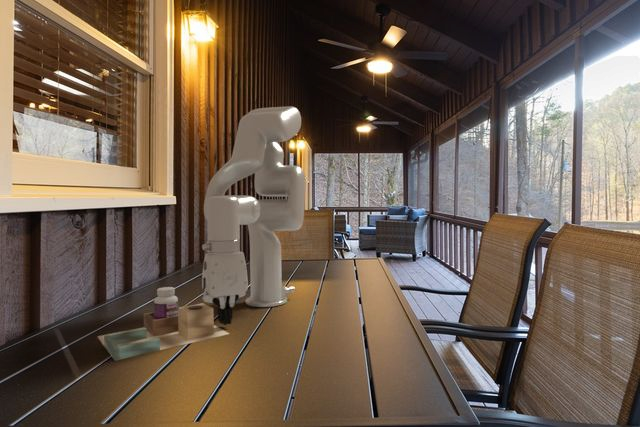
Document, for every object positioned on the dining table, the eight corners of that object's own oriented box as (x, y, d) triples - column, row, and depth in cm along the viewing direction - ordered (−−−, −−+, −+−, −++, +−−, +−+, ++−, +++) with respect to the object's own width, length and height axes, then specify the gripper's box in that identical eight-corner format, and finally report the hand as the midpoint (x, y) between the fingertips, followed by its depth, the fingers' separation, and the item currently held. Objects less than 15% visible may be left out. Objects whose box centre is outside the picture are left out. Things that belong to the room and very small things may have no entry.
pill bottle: (170, 332, 94) (169, 291, 94) (150, 331, 95) (149, 290, 95) (182, 325, 99) (181, 286, 99) (163, 324, 100) (162, 285, 100)
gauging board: (199, 319, 107) (199, 308, 106) (229, 337, 93) (229, 324, 92) (97, 339, 92) (96, 326, 92) (115, 364, 78) (114, 349, 77)
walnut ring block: (177, 321, 102) (176, 307, 102) (188, 329, 96) (188, 314, 96) (144, 327, 97) (143, 313, 97) (154, 336, 91) (153, 321, 91)
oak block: (203, 328, 97) (202, 302, 97) (213, 334, 92) (213, 308, 92) (178, 333, 93) (177, 307, 93) (188, 340, 88) (187, 312, 88)
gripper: (200, 251, 89) (201, 333, 90) (259, 246, 98) (260, 320, 99) (187, 248, 95) (189, 325, 95) (244, 244, 104) (245, 314, 105)
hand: (225, 323), depth 97 cm, fingers closed
